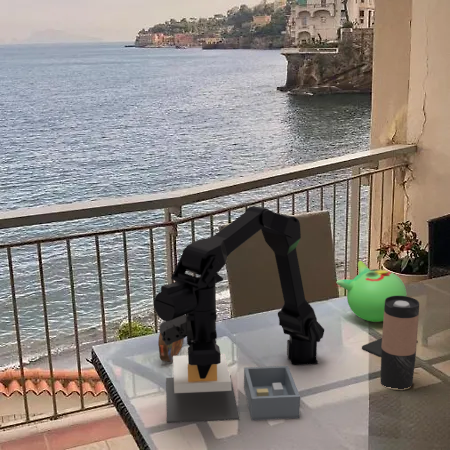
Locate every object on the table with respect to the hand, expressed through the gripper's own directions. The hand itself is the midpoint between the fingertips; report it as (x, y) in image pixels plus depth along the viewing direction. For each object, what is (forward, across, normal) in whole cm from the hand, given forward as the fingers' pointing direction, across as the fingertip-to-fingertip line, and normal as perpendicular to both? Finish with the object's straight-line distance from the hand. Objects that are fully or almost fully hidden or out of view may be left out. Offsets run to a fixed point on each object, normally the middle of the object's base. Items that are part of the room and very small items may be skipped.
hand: (202, 376), depth 145 cm
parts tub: (+9, -3, +15) cm, 18 cm away
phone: (+9, -30, +50) cm, 59 cm away
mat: (+9, -6, 0) cm, 11 cm away
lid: (+3, -6, 0) cm, 7 cm away
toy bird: (+9, -48, +51) cm, 70 cm away
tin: (+9, -29, -6) cm, 31 cm away
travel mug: (+9, -10, +45) cm, 47 cm away
